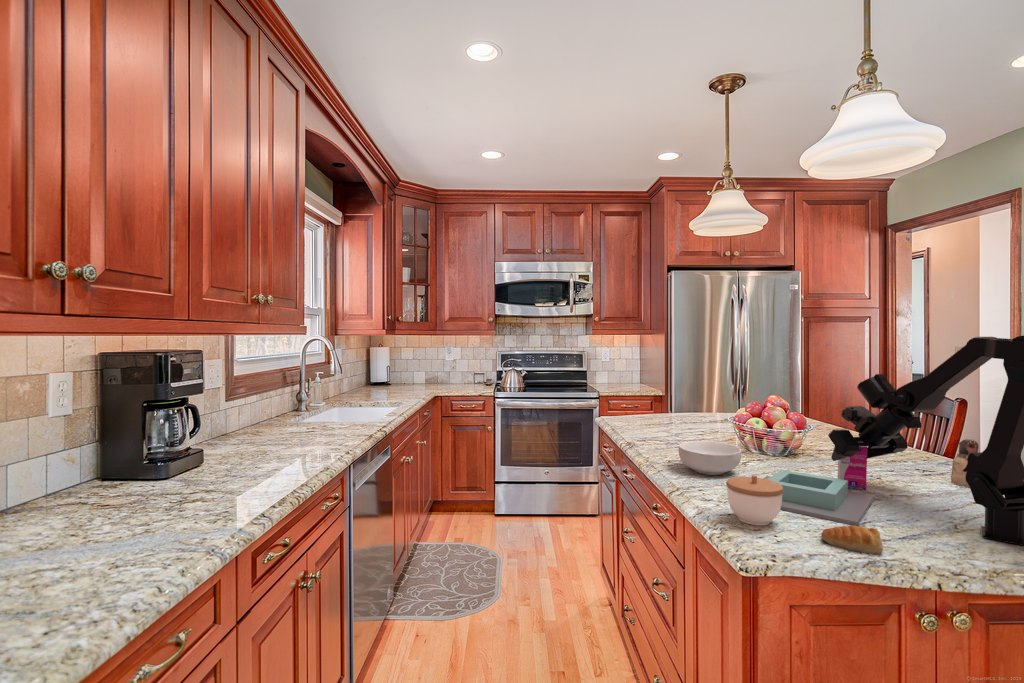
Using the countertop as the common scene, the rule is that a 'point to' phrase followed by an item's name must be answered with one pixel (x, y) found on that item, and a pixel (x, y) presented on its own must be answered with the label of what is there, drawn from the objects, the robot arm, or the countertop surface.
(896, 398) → the robot arm
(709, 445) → the cereal bowl
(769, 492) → the lidded jar
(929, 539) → the countertop surface
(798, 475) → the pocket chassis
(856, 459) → the supplement box
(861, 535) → the pastry
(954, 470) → the figurine
